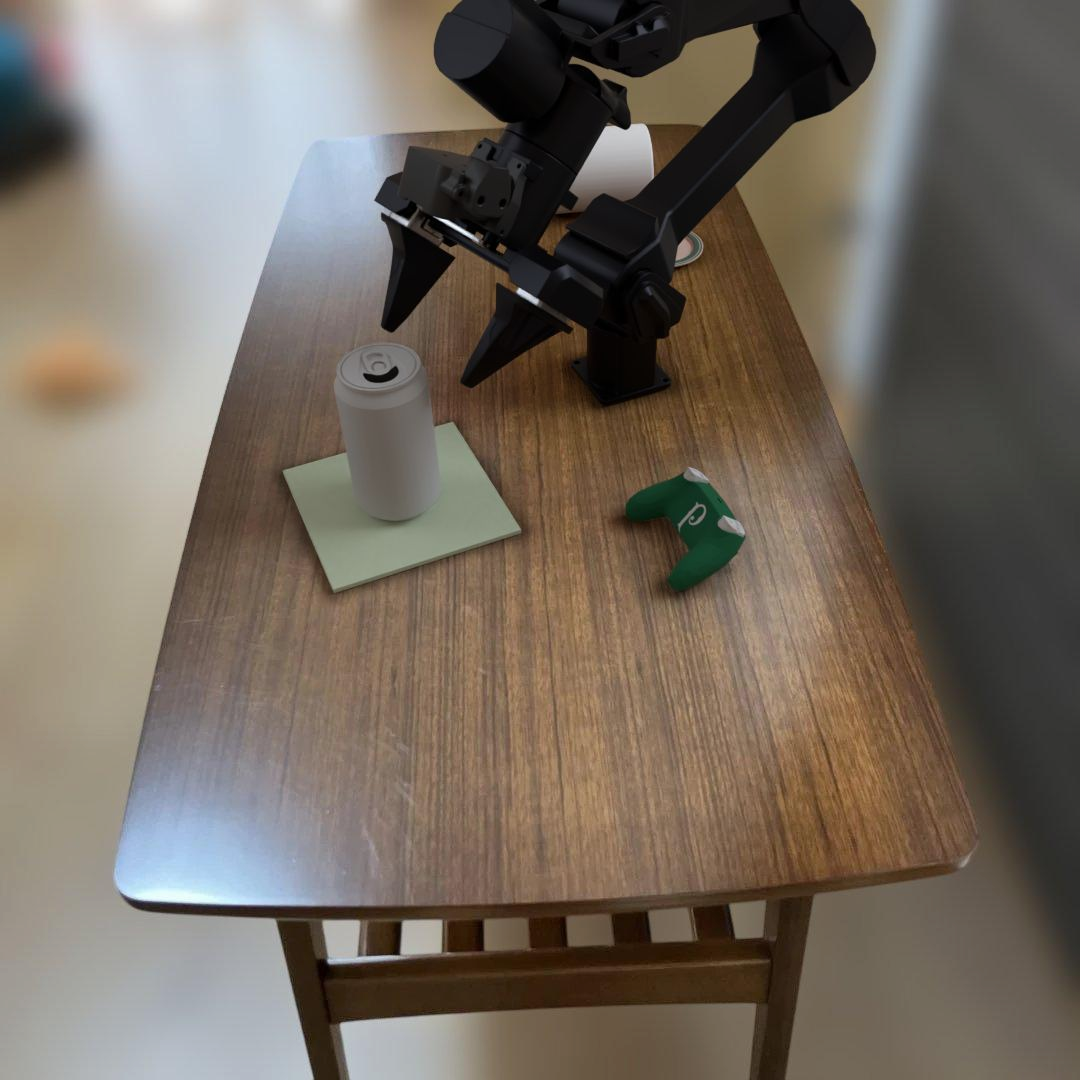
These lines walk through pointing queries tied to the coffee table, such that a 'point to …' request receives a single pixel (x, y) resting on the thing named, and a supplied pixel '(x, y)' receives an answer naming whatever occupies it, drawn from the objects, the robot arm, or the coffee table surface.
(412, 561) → the felt mat
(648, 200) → the robot arm
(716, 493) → the gaming controller
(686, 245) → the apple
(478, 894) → the coffee table surface
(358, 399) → the beverage can
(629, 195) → the mug
